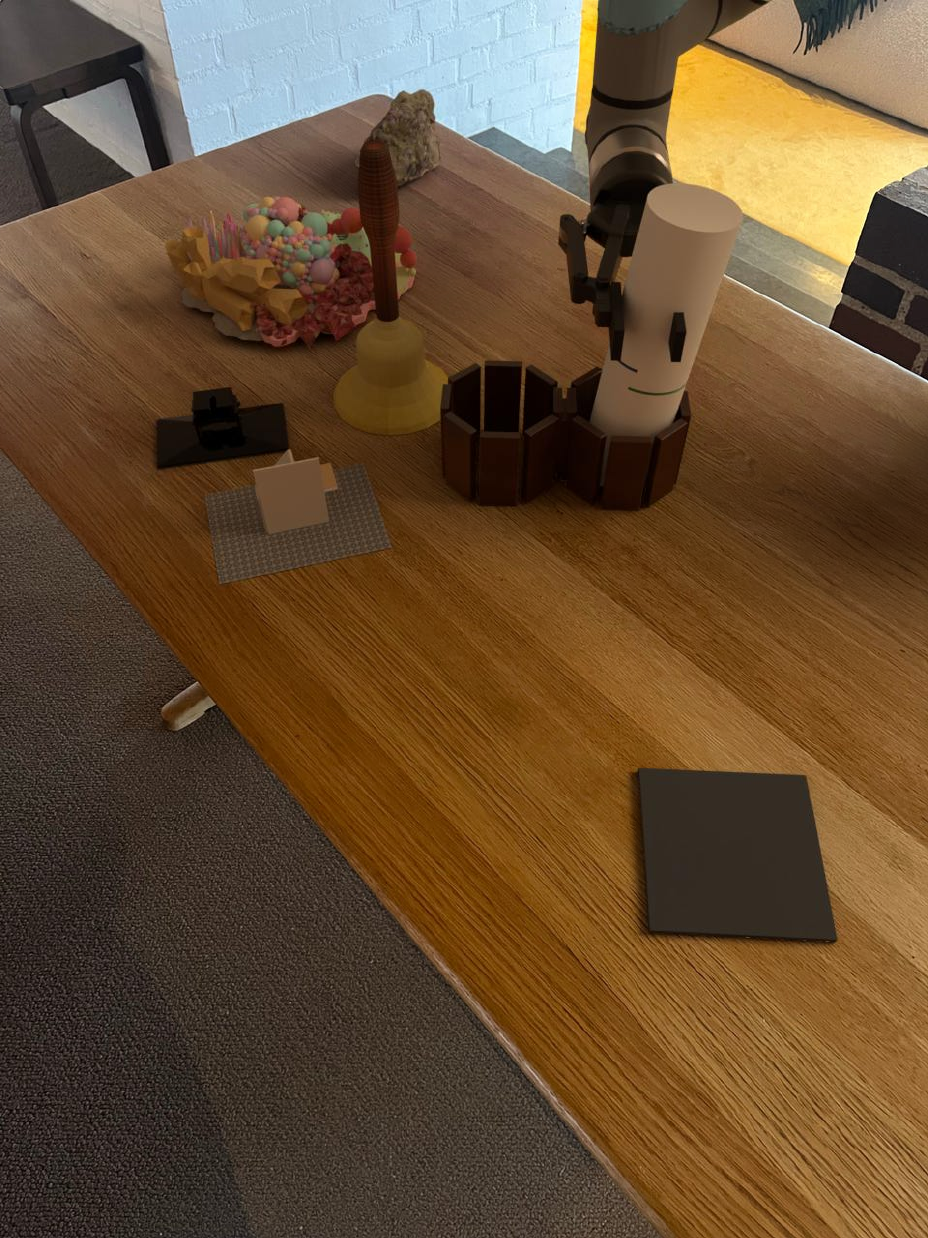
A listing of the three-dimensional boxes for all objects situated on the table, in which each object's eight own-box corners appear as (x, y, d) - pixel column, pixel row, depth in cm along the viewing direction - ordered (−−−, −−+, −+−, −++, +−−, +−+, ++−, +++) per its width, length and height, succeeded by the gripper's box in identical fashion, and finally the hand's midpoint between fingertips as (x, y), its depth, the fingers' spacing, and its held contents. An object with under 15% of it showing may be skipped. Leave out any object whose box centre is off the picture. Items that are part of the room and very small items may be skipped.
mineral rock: (364, 204, 120) (356, 121, 112) (337, 166, 126) (328, 85, 119) (459, 183, 123) (458, 102, 115) (428, 147, 129) (425, 67, 122)
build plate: (157, 470, 90) (143, 432, 86) (157, 421, 95) (144, 382, 91) (289, 451, 91) (281, 412, 88) (283, 403, 96) (275, 364, 92)
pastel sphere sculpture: (312, 377, 98) (299, 297, 91) (143, 309, 106) (119, 230, 99) (442, 263, 112) (440, 185, 104) (283, 209, 119) (271, 134, 112)
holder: (669, 434, 93) (684, 365, 86) (679, 512, 86) (695, 443, 80) (447, 427, 93) (445, 358, 87) (439, 503, 87) (437, 435, 81)
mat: (804, 778, 69) (806, 774, 69) (835, 943, 62) (838, 940, 61) (637, 770, 70) (638, 767, 69) (648, 933, 62) (649, 930, 62)
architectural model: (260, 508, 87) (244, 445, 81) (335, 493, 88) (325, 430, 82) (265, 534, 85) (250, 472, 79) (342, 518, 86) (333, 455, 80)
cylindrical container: (609, 429, 93) (681, 173, 73) (670, 467, 90) (760, 211, 71) (564, 463, 89) (627, 201, 70) (626, 502, 86) (710, 243, 67)
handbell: (456, 358, 100) (453, 110, 81) (452, 436, 93) (448, 183, 73) (339, 356, 101) (307, 109, 81) (325, 434, 93) (287, 182, 73)
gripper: (717, 232, 90) (750, 389, 75) (535, 229, 90) (533, 384, 76) (733, 151, 84) (773, 305, 69) (540, 148, 85) (538, 300, 70)
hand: (648, 345), depth 72 cm, fingers open, 4 cm apart
